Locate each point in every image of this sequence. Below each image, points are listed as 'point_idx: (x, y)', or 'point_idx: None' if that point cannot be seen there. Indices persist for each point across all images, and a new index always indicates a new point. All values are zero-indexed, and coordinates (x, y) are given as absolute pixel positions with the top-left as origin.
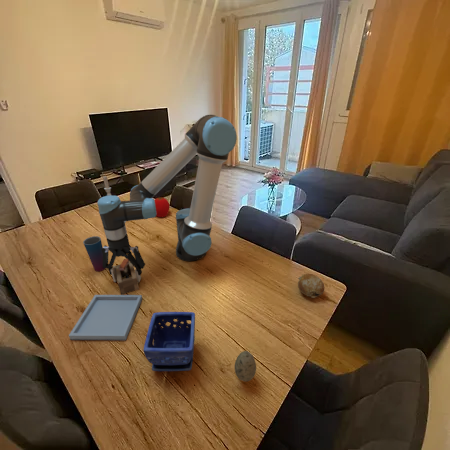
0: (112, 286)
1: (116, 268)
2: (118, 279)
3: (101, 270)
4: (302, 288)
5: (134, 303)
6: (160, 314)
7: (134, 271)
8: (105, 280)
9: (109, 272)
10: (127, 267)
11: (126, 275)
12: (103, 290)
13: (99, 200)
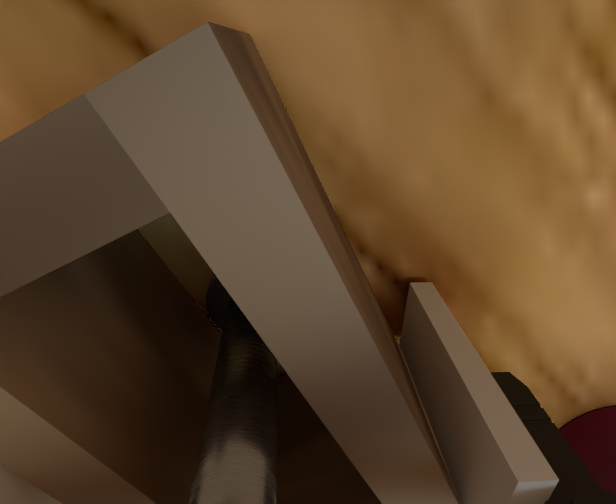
0: (432, 213)
1: (439, 500)
2: (270, 218)
3: (590, 419)
4: None
5: None
6: None
7: (19, 470)
8: (534, 304)
9: (543, 413)
10: (284, 501)
11: (232, 371)
12: (539, 136)
13: None
